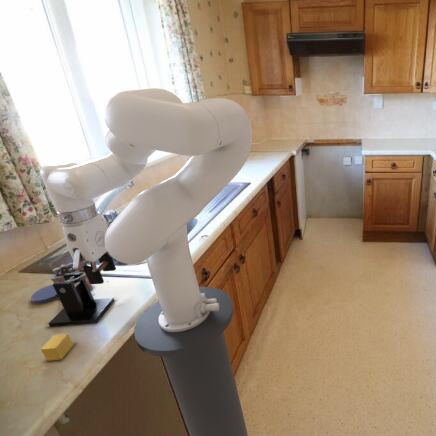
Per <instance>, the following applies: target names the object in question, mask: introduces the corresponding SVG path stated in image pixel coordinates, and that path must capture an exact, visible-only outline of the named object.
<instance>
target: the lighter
mask: <svg viewBox="0 0 436 436" xmlns="http://www.w3.org/2000/svg"><path fill="white" fill-rule="evenodd" d="M52 272H53V273H54V274H53V275H51V276H50V281H51V282H52V283H53V284H54V283H55V282H64V281H65V279H64V277H63V275H64V274H65V273H78V272H82V271H79V270H73V262H70V263H68V264H66V263H64V264H60V266H58V267H55V268H53V269H52ZM82 273H83V272H82ZM83 274H85V273H83ZM85 280H86V282H87V284H88V287H89V289H90V291H92V290H93V284H90V283H89V280H88V278H85Z"/></svg>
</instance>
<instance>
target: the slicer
mask: <svg viewBox="0 0 436 436" xmlns="http://www.w3.org/2000/svg"><path fill="white" fill-rule="evenodd" d="M81 275H83V273H82V272H78V273H65V274H64V275H63V277H64V279H65V280H67V279H69V278H71V277H73V276H74V277H75V278H77V277H79V276H81ZM52 285H53V287H54V289H55V291H56V293H57V295H58V299H59V301H60V303H61V306H62V307H63V308H62V309H61V310H60V311H59V312H58V313H57V314H56V315H55V316H54V317H53V318H52V319H51V320H50V321H49V322H48V326H49V327H50V328H52V327H53V328H55V327H66V326H67V327H68V326H78V325H79V326H80V325H90V324H91V325H92V324H98V322H99V321H100V320H101V319H102V318H103V316H104V315H105V314H106V313H107V311H108V310H109V309H110V308H111V306H112V305H113V304H114V303H115V298H114V297H106V298H94V296H93V293H92V290H90V289H89V287H88V284H87V282H86V280H85V279H83V280H81V281H80V283H79V284H78V285H77V286H76V287H75V285H74V283H73V281H67V282H55V283H54V282H53V283H52Z"/></svg>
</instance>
